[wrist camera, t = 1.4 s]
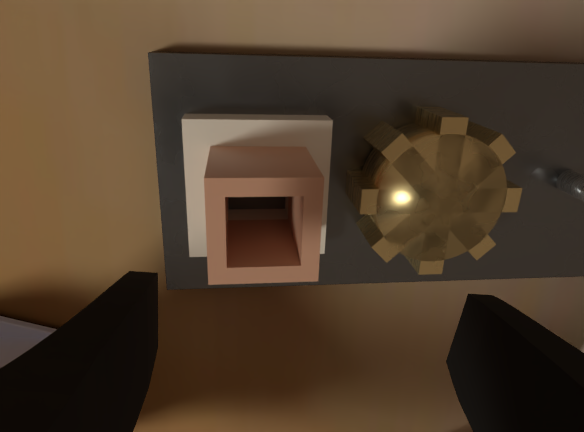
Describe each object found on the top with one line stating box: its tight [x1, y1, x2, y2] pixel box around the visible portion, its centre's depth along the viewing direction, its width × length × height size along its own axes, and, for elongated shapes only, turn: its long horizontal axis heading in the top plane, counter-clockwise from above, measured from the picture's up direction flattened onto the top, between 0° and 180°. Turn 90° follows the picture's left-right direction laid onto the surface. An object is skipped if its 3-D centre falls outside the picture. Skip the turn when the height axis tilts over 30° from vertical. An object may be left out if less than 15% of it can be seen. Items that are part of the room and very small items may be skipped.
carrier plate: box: [148, 51, 584, 290], centre depth 19 cm, size 22×10×4 cm, turn 88°
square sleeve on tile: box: [182, 114, 333, 285], centre depth 17 cm, size 6×6×5 cm
